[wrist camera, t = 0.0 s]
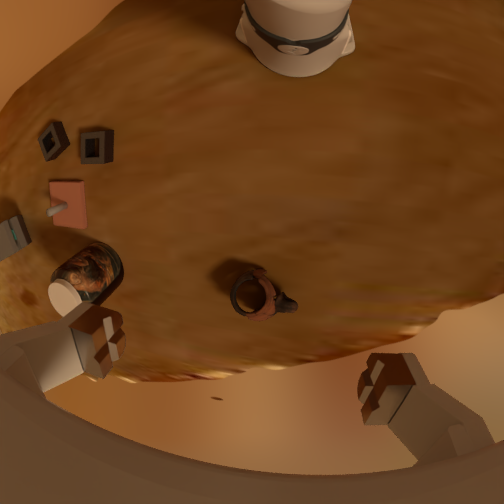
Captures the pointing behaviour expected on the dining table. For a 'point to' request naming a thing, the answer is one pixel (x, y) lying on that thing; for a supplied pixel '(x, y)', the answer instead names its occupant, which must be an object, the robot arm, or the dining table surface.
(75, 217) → the keeper
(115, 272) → the jar
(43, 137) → the loose link
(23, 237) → the grey lidded box
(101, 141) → the link
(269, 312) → the pottery mug
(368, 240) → the dining table surface
